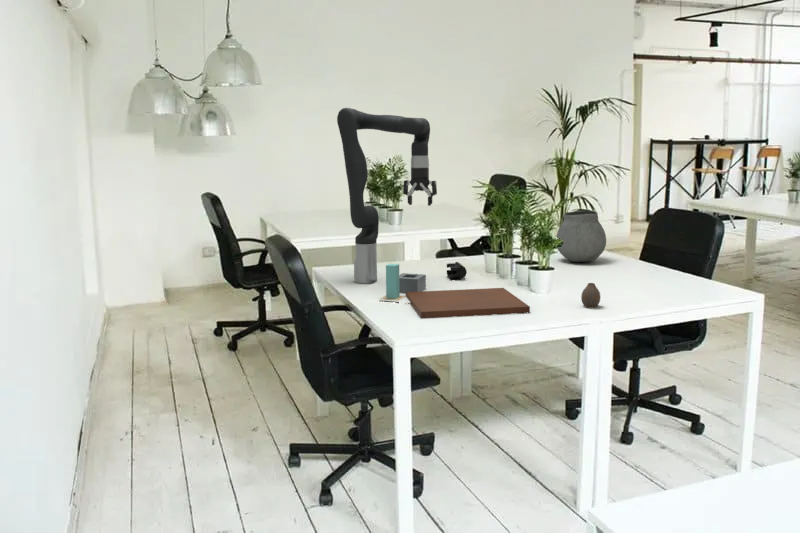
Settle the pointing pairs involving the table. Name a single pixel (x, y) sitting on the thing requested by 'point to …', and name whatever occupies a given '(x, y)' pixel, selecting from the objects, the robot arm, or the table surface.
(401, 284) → the grey square socket block
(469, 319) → the table surface
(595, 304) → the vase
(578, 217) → the ceramic pot
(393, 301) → the mat
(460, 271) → the end cap
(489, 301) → the flat brown board
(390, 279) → the plug
